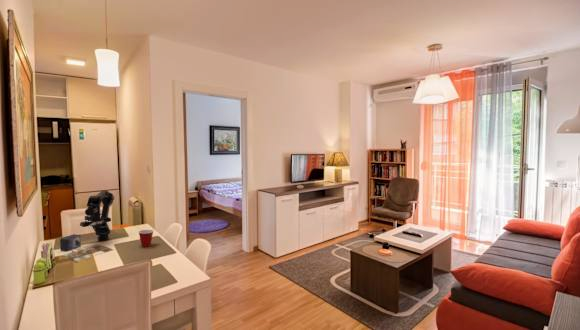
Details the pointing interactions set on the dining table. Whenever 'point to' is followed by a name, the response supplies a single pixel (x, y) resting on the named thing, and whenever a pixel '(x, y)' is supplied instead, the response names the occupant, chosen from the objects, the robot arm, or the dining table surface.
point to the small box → (70, 242)
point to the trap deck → (89, 252)
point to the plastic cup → (146, 237)
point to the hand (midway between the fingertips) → (96, 233)
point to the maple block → (78, 252)
